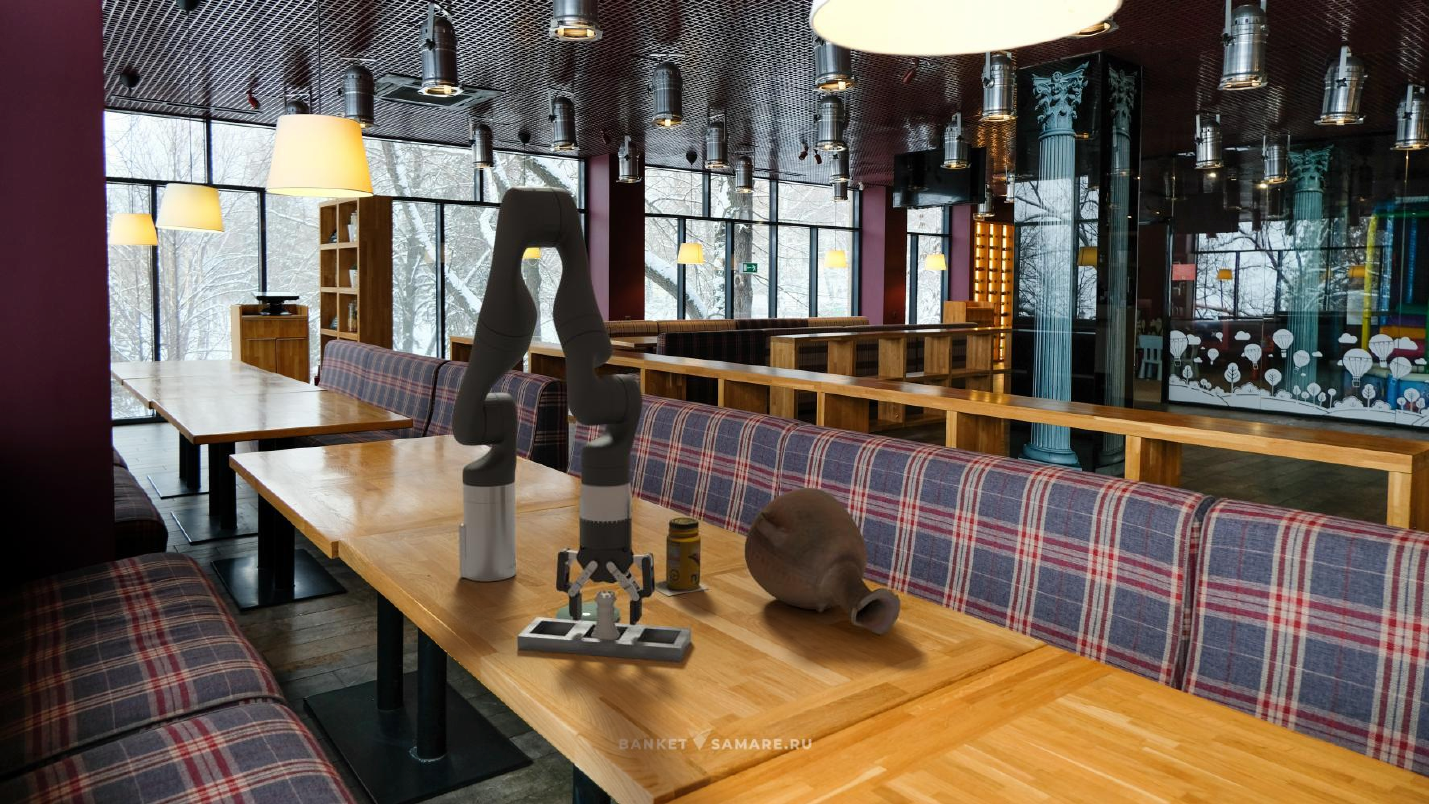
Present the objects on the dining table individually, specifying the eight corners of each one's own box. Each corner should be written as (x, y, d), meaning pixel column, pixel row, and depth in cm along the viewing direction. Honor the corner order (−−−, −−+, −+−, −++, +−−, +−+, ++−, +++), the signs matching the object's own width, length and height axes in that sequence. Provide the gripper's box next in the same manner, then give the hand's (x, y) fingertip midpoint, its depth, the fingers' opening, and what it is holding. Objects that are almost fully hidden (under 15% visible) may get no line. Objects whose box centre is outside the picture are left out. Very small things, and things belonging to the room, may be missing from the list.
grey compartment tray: (517, 649, 134) (517, 635, 134) (536, 629, 142) (536, 617, 142) (680, 661, 131) (680, 648, 130) (691, 641, 138) (691, 628, 138)
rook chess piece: (590, 640, 139) (590, 587, 138) (621, 639, 139) (621, 587, 138) (589, 651, 134) (589, 597, 133) (620, 650, 134) (620, 597, 134)
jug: (731, 589, 163) (824, 680, 138) (721, 489, 156) (817, 565, 131) (828, 554, 171) (934, 635, 146) (823, 457, 164) (933, 524, 139)
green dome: (547, 625, 144) (547, 620, 144) (567, 604, 154) (567, 600, 154) (610, 630, 143) (610, 625, 142) (626, 608, 152) (626, 604, 152)
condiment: (709, 588, 163) (710, 522, 162) (668, 597, 159) (668, 528, 157) (687, 578, 169) (688, 513, 168) (647, 585, 165) (647, 519, 163)
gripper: (549, 516, 132) (550, 626, 134) (647, 521, 129) (647, 634, 131) (566, 504, 139) (566, 609, 141) (659, 509, 137) (658, 616, 139)
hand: (605, 621), depth 136 cm, fingers open, 8 cm apart
